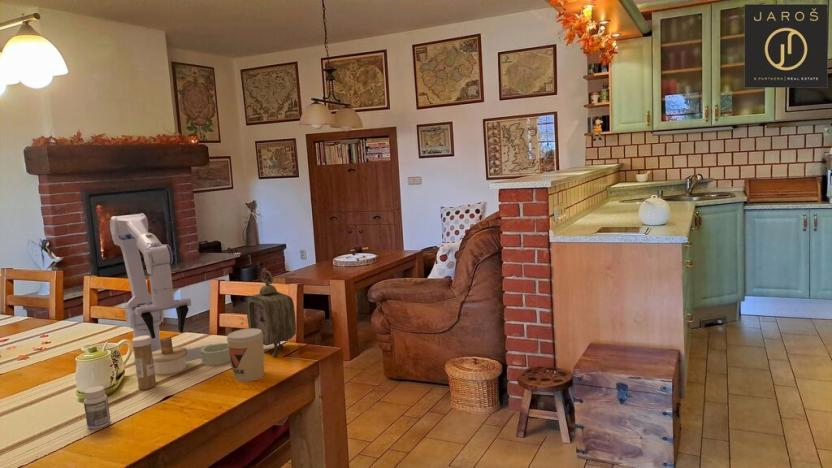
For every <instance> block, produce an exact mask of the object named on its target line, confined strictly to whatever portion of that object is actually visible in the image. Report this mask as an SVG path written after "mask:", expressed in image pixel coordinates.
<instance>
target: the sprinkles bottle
mask: <svg viewBox="0 0 832 468" xmlns="http://www.w3.org/2000/svg"><path fill="white" fill-rule="evenodd" d="M131 345H132V347H133V351H134V354H133V356H134V364H135V371H136V377H137V384H138V389H139V390H150V389H152V388H154V387H155V386H157V380H156V379H157V378H156V374H155V370H154V362H153V356H152V349H151V337H150V336H139V337H135V338H134V337H133V338H132V340H131ZM149 388H150V389H149Z"/></svg>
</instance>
